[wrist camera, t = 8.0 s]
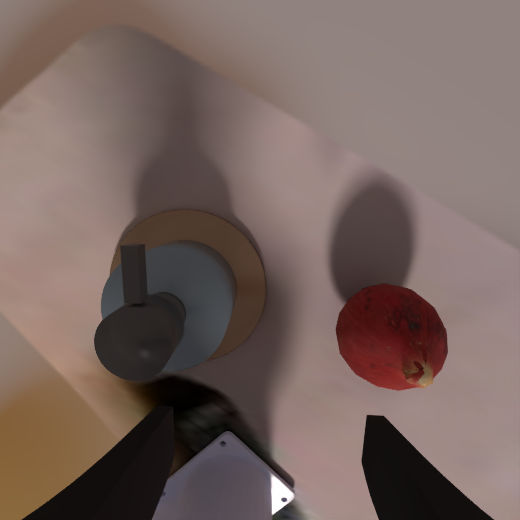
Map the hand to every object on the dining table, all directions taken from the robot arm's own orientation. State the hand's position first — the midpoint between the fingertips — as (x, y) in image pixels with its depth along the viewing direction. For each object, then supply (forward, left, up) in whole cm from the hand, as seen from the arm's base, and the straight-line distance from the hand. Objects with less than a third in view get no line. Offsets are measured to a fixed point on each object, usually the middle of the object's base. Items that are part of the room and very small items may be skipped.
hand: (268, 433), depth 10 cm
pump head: (-2, +7, -5) cm, 8 cm away
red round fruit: (+6, -4, -11) cm, 13 cm away
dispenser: (-2, +6, -10) cm, 12 cm away
